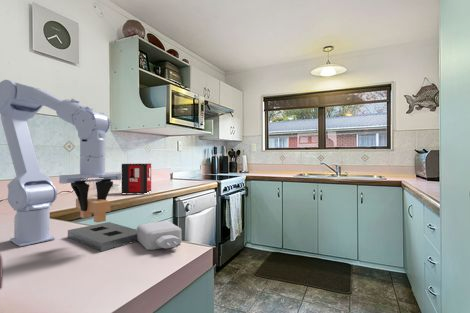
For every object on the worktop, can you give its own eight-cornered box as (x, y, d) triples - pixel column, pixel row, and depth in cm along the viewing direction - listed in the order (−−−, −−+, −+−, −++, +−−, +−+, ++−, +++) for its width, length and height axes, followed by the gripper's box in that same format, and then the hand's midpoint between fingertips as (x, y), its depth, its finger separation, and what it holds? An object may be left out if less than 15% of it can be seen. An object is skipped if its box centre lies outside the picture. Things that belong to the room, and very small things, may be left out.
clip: (75, 217, 69) (75, 198, 69) (89, 214, 72) (89, 197, 72) (96, 223, 62) (96, 203, 62) (110, 221, 65) (110, 201, 65)
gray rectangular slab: (67, 237, 74) (67, 230, 74) (108, 228, 84) (108, 221, 84) (101, 251, 62) (101, 243, 62) (144, 239, 72) (144, 232, 72)
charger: (153, 259, 58) (137, 242, 70) (191, 251, 63) (169, 236, 75) (153, 238, 58) (137, 224, 70) (191, 231, 63) (169, 220, 75)
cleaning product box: (151, 192, 177) (151, 163, 177) (146, 194, 168) (146, 163, 168) (127, 192, 177) (127, 163, 177) (121, 194, 168) (121, 163, 168)
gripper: (67, 156, 59) (67, 216, 59) (127, 157, 70) (126, 206, 70) (56, 157, 63) (55, 212, 63) (114, 157, 75) (114, 204, 75)
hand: (92, 209), depth 67 cm, fingers closed on clip, 3 cm apart
